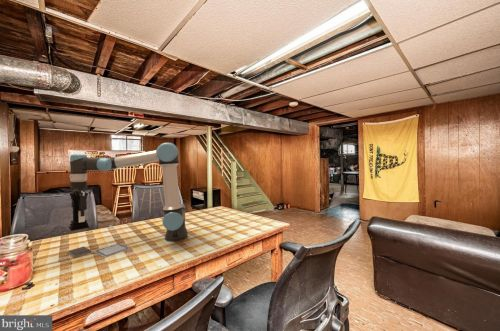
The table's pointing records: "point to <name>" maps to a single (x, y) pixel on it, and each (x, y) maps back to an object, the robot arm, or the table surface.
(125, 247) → the print sheet
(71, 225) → the chess piece
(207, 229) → the table surface
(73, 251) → the ink pad
